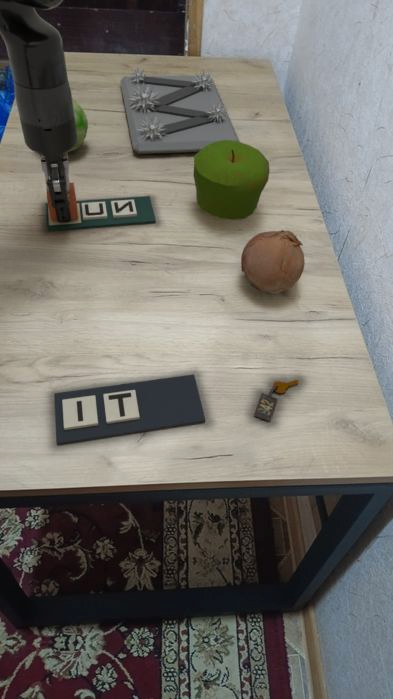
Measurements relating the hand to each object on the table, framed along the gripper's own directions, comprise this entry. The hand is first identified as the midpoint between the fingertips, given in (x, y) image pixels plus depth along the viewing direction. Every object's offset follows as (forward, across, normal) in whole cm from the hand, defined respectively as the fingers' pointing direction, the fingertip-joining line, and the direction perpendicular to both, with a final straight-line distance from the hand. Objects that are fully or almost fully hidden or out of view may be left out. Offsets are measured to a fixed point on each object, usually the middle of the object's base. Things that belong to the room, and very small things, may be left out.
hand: (63, 211), depth 82 cm
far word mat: (+1, 0, +6) cm, 6 cm away
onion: (+1, +20, +30) cm, 36 cm away
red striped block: (0, 0, 0) cm, 0 cm away
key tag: (+1, +41, +25) cm, 48 cm away
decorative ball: (+1, -21, +1) cm, 21 cm away
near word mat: (+1, +39, +6) cm, 39 cm away
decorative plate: (+1, -31, +25) cm, 40 cm away
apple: (+1, +1, +28) cm, 28 cm away
